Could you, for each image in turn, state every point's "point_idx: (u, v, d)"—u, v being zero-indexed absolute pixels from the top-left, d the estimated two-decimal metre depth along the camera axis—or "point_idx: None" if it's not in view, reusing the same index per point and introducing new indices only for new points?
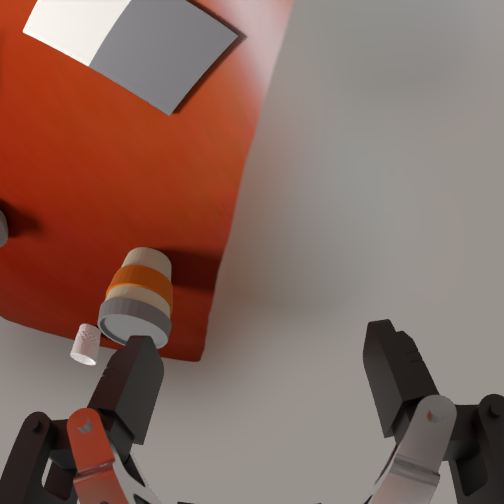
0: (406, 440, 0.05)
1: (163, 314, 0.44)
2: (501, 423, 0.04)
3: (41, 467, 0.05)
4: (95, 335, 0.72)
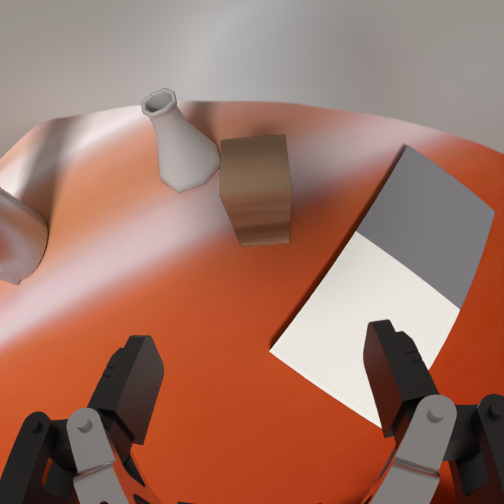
0: (406, 440, 0.05)
1: None
2: (501, 423, 0.04)
3: (41, 467, 0.05)
4: None
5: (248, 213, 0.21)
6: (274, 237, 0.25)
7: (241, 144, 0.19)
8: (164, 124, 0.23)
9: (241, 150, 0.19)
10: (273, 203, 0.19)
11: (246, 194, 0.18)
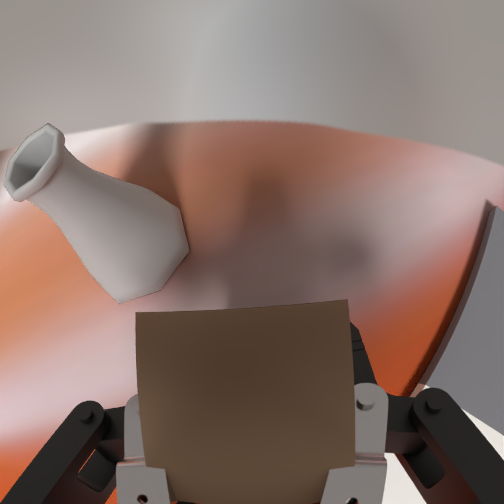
0: None
1: None
2: (444, 416, 0.05)
3: (81, 459, 0.06)
4: None
5: None
6: None
7: (198, 340, 0.06)
8: (51, 206, 0.10)
9: (199, 366, 0.05)
10: None
11: (222, 500, 0.05)
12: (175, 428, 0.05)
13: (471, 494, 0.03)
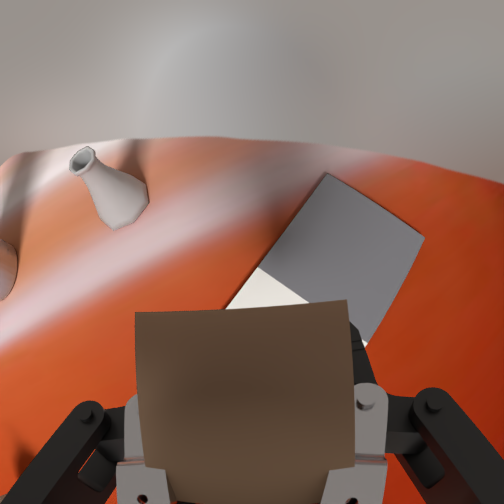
0: None
1: None
2: (444, 416, 0.05)
3: (81, 459, 0.06)
4: None
5: None
6: None
7: (198, 340, 0.06)
8: (89, 179, 0.26)
9: (198, 365, 0.05)
10: None
11: (222, 500, 0.05)
12: (174, 428, 0.05)
13: (471, 494, 0.03)
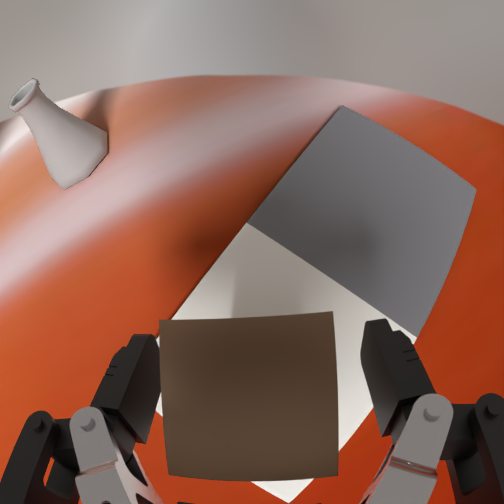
0: (403, 439, 0.05)
1: None
2: (498, 422, 0.04)
3: (42, 466, 0.05)
4: None
5: None
6: None
7: (212, 342, 0.07)
8: (29, 116, 0.16)
9: (212, 363, 0.07)
10: None
11: (229, 477, 0.06)
12: (192, 415, 0.06)
13: None
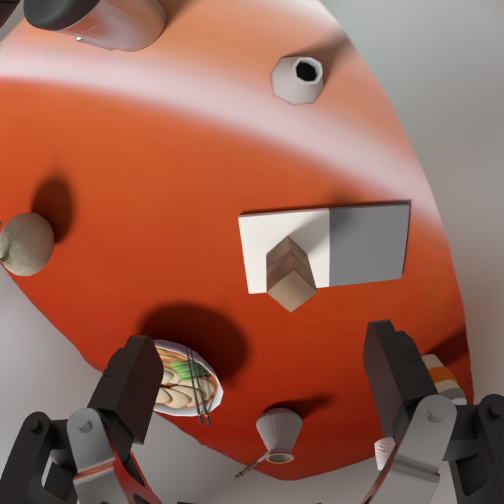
0: (406, 440, 0.05)
1: (458, 388, 0.44)
2: (501, 423, 0.04)
3: (41, 467, 0.05)
4: (391, 442, 0.72)
5: None
6: None
7: (297, 280, 0.35)
8: (298, 80, 0.27)
9: (294, 283, 0.35)
10: None
11: (275, 298, 0.36)
12: (282, 287, 0.35)
13: None
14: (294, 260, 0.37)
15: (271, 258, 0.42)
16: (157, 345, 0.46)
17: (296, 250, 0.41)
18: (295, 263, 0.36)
